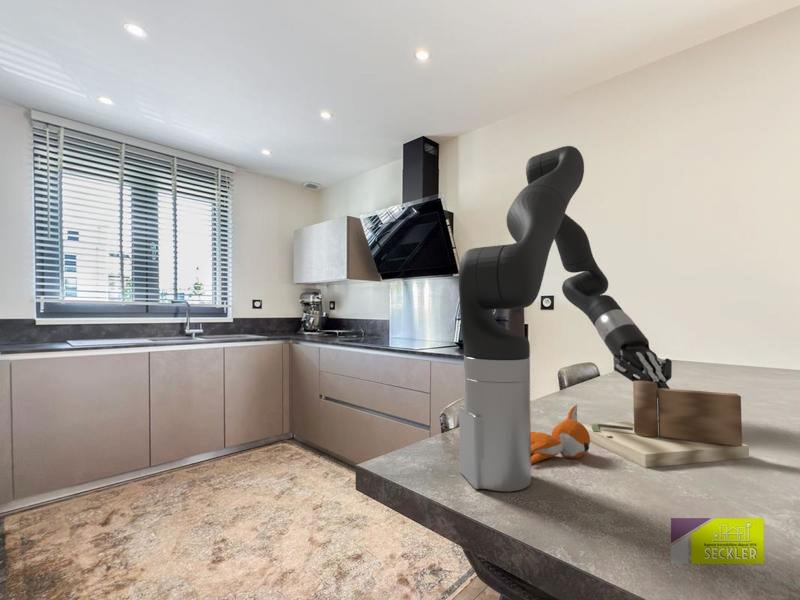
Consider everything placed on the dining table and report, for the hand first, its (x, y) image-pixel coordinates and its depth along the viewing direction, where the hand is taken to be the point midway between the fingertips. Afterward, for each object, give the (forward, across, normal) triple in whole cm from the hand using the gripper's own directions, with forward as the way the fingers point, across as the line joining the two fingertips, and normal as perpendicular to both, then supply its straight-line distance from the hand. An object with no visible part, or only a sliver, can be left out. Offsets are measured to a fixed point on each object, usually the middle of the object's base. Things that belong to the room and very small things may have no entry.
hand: (669, 401), depth 74 cm
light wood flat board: (+7, -7, +2) cm, 11 cm away
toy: (+4, -30, +6) cm, 31 cm away
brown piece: (+7, -7, -1) cm, 10 cm away
